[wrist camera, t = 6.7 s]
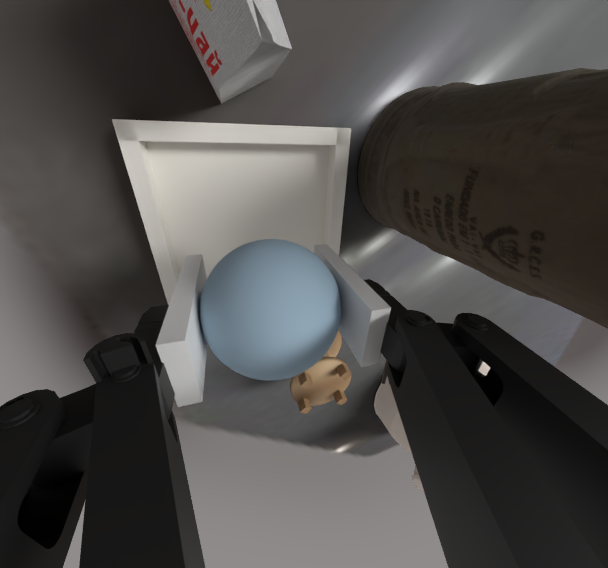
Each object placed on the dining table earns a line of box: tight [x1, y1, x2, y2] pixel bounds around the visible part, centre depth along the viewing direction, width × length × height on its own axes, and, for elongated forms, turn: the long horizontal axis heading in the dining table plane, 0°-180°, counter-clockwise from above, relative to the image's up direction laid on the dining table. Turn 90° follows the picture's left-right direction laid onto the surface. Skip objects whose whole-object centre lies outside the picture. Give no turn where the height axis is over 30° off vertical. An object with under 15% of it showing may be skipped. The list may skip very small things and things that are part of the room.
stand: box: [290, 331, 352, 414], centre depth 26 cm, size 8×8×7 cm
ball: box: [200, 239, 341, 380], centre depth 11 cm, size 6×6×6 cm
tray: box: [112, 119, 351, 305], centre depth 19 cm, size 14×14×2 cm
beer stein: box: [358, 68, 608, 328], centre depth 13 cm, size 15×11×20 cm
